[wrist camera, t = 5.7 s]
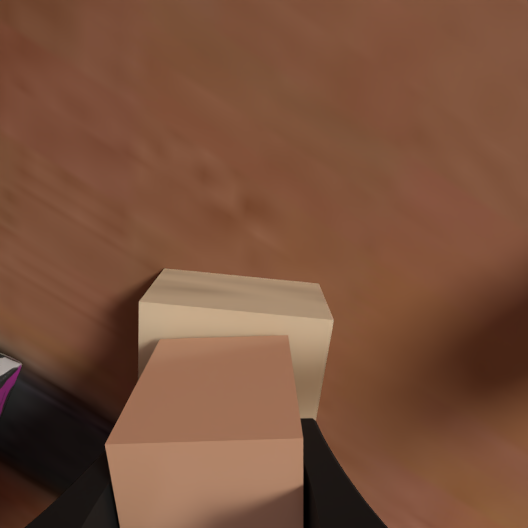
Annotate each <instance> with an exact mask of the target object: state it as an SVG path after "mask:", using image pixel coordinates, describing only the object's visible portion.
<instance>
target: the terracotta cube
mask: <svg viewBox="0 0 528 528" xmlns="http://www.w3.org/2000/svg"><path fill="white" fill-rule="evenodd" d="M105 448H106V453H107V459H108V464H109V470H110V475H111V481H112V486H113V491H114V497H115V502H116V508H117V513H118V519H119V524H120V528H303V433H302V426H301V420H300V413H299V406H298V399H297V392H296V386H295V379H294V372H293V365H292V358H291V352H290V345H289V338H288V335H276V336H244V337H212V338H180V339H160V340H159V342H158V344H157V346H156V348H155V350H154V352H153V353H152V355H151V357H150V359H149V361H148V363H147V365H146V367H145V369H144V371H143V373H142V374H141V376H140V378H139V380H138V382H137V384H136V386H135V388H134V390H133V392H132V394H131V395H130V397H129V399H128V401H127V403H126V405H125V407H124V409H123V411H122V413H121V415H120V417H119V418H118V420H117V422H116V424H115V426H114V428H113V430H112V432H111V434H110V436H109V438H108V439H107V441H106V443H105Z"/></svg>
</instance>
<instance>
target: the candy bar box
mask: <svg viewBox="0 0 528 528" xmlns="http://www.w3.org/2000/svg"><path fill="white" fill-rule="evenodd" d="M21 366H22V363H21V362H20V361H18V360H15V359H13V358H11V357H9V356H7V355H4V354H2V353H0V418H1V416H2V413H3V411H4V408H5V406H6V403H7V401H8V398H9V396H10V393H11V391H12V388H13V386H14V384H15V381H16V379H17V376H18V374H19V372H20V369H21Z"/></svg>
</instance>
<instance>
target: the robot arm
mask: <svg viewBox="0 0 528 528" xmlns="http://www.w3.org/2000/svg"><path fill="white" fill-rule="evenodd" d="M300 420H301V426H302V433H303V528H388V527H387V526H386V525H385V524H384V523H383V522H382V520H381V519H380V518H379V517H378V516H377V515H376V513H375V512H374V511H373V510H372V509H371V507H370V506H369V505H368V504H367V502H366V501H365V500H364V498H363V497H362V496H361V494H360V493H359V492H358V490H357V489H356V488H355V486H354V485H353V484H352V482H351V481H350V479H349V478H348V476H347V475H346V473H345V472H344V470H343V469H342V467H341V466H340V464H339V463H338V461H337V460H336V458H335V456H334V455H333V453H332V451H331V450H330V448H329V446H328V444H327V443H326V441H325V439H324V437H323V435H322V433H321V431H320V429H319V427H318V425H317V422H316V421H315V420H314V419H313V418H300ZM25 528H120V524H119V519H118V513H117V508H116V502H115V497H114V491H113V486H112V481H111V475H110V470H109V464H108V459H107V453H106V450H105V451H104V452H103V453H102V454H101V455H100V456H99V458H98V459H97V460H96V461H95V462H94V463H93V464H92V465H91V466H90V467H89V468H88V469H87V470H86V471H85V472H84V473H83V474H82V475H81V476H80V477H79V478H78V479H77V480H76V481H75V482H74V483H73V484H72V485H71V486H70V487H69V488H68V489H67V490H66V491H65V492H64V493H63V494H62V495H61V496H60V497H59V498H58V499H57V500H56V501H55V502H54V503H52V504H51V505H50V506H49V507H48V508H47V509H46V510H45V511H44V512H42V513H41V514H40V515H39V516H38V517H37V518H35V519H34V520H33V521H32V522H31V523H29V524H28V525H27V526H26V527H25Z"/></svg>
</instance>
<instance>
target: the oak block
mask: <svg viewBox="0 0 528 528" xmlns="http://www.w3.org/2000/svg"><path fill="white" fill-rule="evenodd" d="M333 321H334V320H333V317H332V315H331V312H330V310H329V307H328V305H327V303H326V300H325V298H324V295H323V293H322V290H321V288H320V286H319V284H317V283H307V282H297V281H286V280H276V279H266V278H256V277H246V276H236V275H226V274H215V273H205V272H195V271H185V270H175V269H165V268H164V269H163V271H162V272H161V273H160V275H159V276H158V277H157V279H156V280H155V281H154V282H153V284H152V285H151V286H150V288H149V289H148V290H147V292H146V293H145V294H144V296H143V297H142V298H141V299H140V301H139V337H138V380H139V378H140V376H141V374H142V373H143V371H144V369H145V367H146V365H147V363H148V361H149V359H150V357H151V355H152V353H153V352H154V350H155V348H156V346H157V344H158V342H159V340H160V339H180V338H212V337H244V336H276V335H288V338H289V345H290V352H291V358H292V365H293V372H294V379H295V386H296V392H297V399H298V406H299V413H300V418H313V419H314V420H315V421H316V416H317V411H318V405H319V400H320V394H321V388H322V383H323V377H324V372H325V366H326V360H327V355H328V349H329V344H330V338H331V332H332V327H333Z"/></svg>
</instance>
